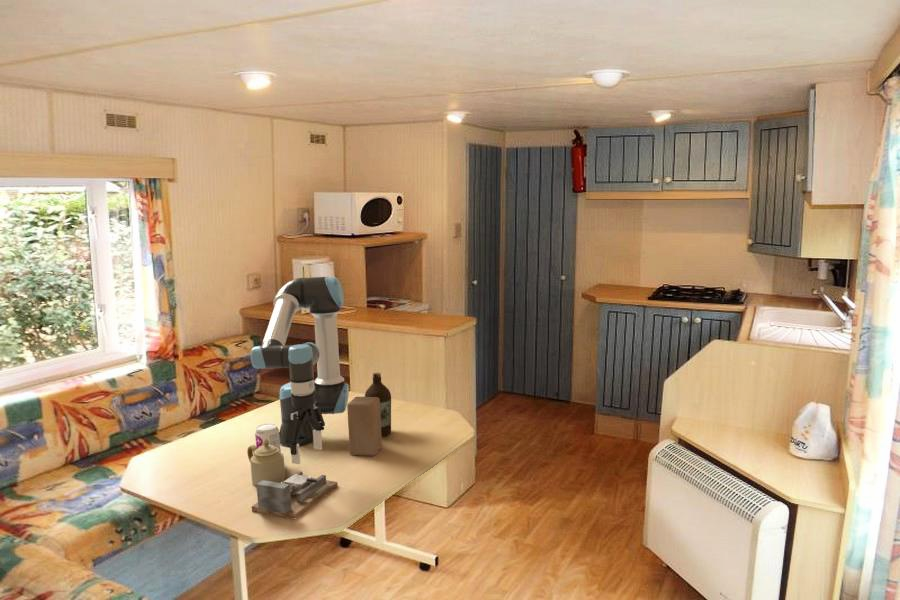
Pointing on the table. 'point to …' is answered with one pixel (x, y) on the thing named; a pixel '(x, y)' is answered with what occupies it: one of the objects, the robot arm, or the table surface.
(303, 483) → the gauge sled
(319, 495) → the gauge bed
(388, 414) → the olive oil
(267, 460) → the sugar bowl
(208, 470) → the table surface
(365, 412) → the block
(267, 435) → the supplement can
